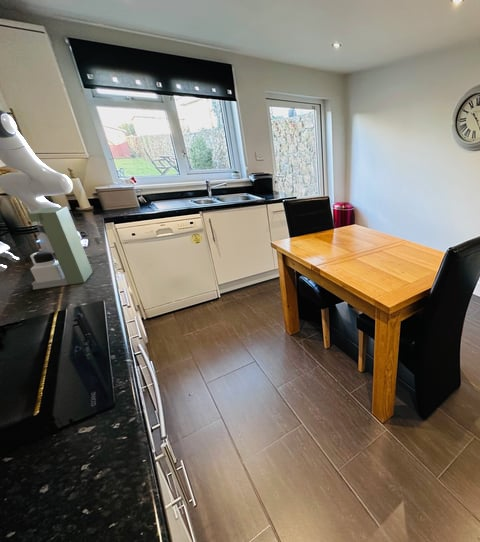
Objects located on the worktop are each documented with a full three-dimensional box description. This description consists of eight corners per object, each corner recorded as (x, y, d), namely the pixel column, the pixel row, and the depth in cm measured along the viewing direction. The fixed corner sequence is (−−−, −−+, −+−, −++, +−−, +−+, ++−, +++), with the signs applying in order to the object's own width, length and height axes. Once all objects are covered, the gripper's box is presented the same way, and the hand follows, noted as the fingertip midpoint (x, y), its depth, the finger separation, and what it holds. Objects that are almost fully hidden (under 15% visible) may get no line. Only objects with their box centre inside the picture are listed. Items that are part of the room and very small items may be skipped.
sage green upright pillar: (45, 278, 118) (13, 209, 106) (92, 271, 125) (67, 206, 113) (32, 289, 108) (-5, 215, 97) (84, 282, 115) (55, 212, 104)
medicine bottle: (67, 275, 119) (55, 248, 114) (62, 281, 114) (50, 253, 109) (43, 278, 116) (30, 251, 111) (37, 285, 110) (23, 257, 105)
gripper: (-55, 245, 91) (3, 268, 100) (-18, 230, 107) (29, 250, 116) (-69, 260, 91) (-9, 282, 99) (-30, 243, 107) (19, 262, 116)
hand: (12, 265), depth 108 cm, fingers open, 8 cm apart
